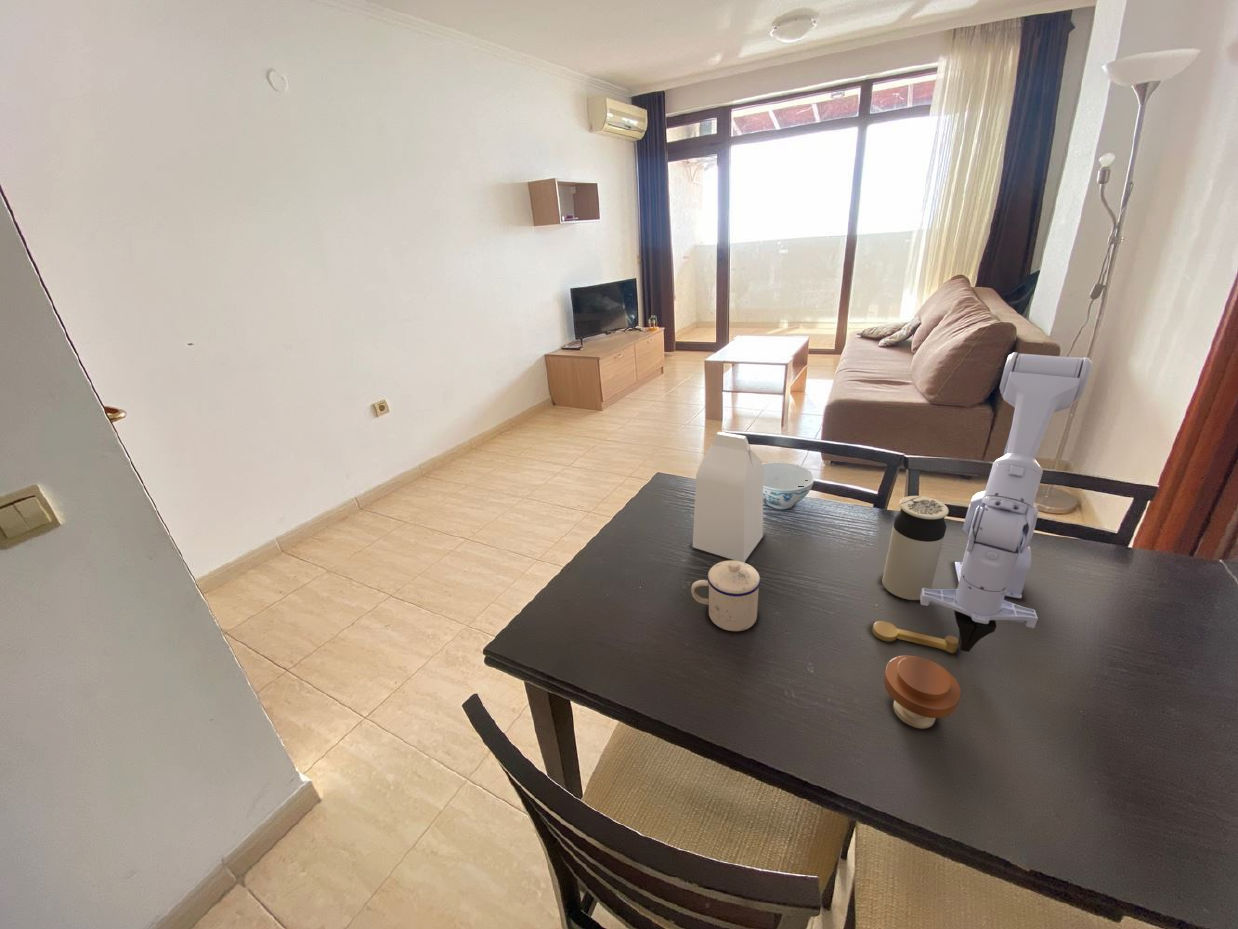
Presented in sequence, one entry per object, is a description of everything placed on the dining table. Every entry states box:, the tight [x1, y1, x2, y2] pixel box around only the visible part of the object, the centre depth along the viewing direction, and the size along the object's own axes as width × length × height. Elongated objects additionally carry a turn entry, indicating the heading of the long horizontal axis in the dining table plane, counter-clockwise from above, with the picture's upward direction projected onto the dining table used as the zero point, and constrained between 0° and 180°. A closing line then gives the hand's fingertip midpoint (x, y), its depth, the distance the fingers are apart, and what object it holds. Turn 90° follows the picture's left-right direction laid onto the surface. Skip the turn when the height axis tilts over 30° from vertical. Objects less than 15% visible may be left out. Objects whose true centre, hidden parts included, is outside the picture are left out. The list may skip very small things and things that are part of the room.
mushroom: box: [883, 654, 962, 729], centre depth 70 cm, size 9×9×8 cm
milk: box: [692, 431, 764, 563], centre depth 107 cm, size 12×12×26 cm
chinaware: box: [762, 461, 815, 510], centre depth 124 cm, size 15×15×8 cm
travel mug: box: [881, 495, 950, 601], centre depth 91 cm, size 8×8×18 cm
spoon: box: [872, 620, 959, 654], centre depth 83 cm, size 12×4×2 cm, turn 64°
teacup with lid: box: [690, 559, 761, 632], centre depth 89 cm, size 12×9×12 cm
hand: (963, 646), depth 80 cm, fingers closed
